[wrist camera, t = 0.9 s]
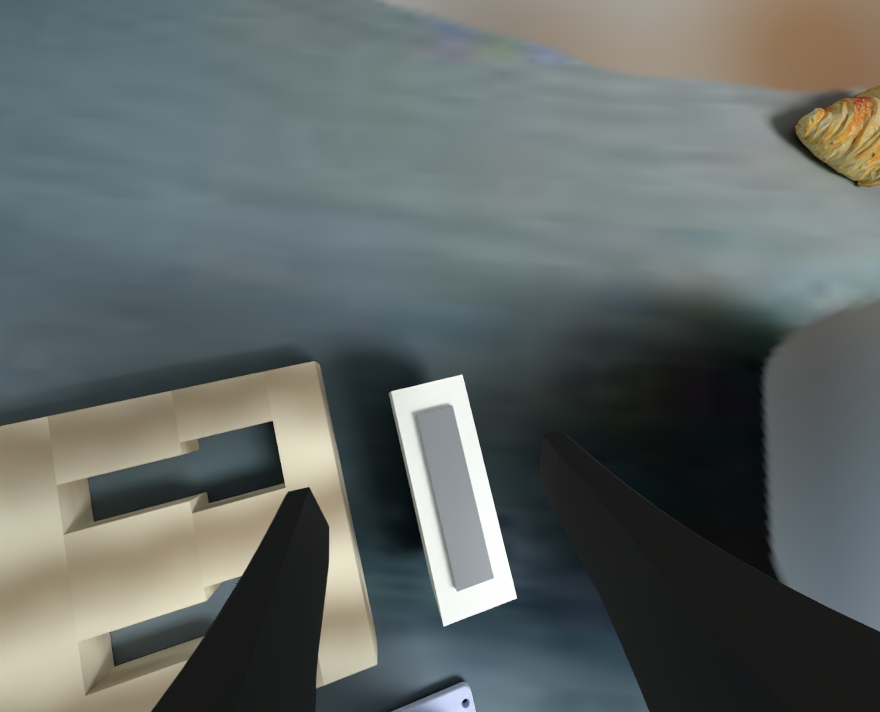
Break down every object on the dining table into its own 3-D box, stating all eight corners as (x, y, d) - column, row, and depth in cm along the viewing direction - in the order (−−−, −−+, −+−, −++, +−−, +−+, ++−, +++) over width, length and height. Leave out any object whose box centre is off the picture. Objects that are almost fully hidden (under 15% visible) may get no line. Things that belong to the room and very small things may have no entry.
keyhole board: (377, 641, 22) (377, 664, 20) (-9, 787, 18) (-56, 834, 16) (319, 364, 23) (314, 360, 22) (-47, 441, 19) (-94, 445, 17)
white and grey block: (483, 551, 24) (519, 601, 18) (427, 571, 23) (444, 630, 17) (443, 380, 25) (463, 374, 19) (387, 393, 24) (391, 391, 18)
